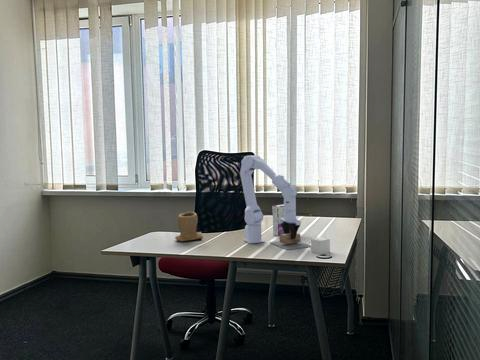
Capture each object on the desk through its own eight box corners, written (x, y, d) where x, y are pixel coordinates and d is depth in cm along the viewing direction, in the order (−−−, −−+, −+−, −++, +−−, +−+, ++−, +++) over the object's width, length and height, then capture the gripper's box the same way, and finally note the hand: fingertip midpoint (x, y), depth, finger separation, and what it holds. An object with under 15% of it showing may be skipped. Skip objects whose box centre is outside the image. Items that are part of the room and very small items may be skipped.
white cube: (311, 251, 208) (310, 238, 208) (320, 249, 212) (319, 237, 211) (321, 254, 203) (320, 240, 203) (330, 251, 207) (329, 238, 206)
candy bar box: (287, 232, 256) (287, 203, 255) (293, 233, 252) (293, 204, 251) (272, 235, 249) (271, 205, 248) (278, 236, 245) (277, 206, 244)
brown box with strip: (294, 240, 227) (294, 232, 227) (300, 242, 223) (300, 233, 223) (279, 242, 222) (279, 233, 222) (285, 244, 218) (285, 235, 218)
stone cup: (181, 244, 232) (180, 214, 231) (173, 240, 242) (172, 212, 241) (208, 240, 239) (207, 212, 238) (199, 236, 249) (198, 209, 248)
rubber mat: (269, 243, 228) (269, 242, 228) (293, 240, 234) (293, 239, 234) (286, 250, 212) (286, 249, 212) (312, 247, 217) (312, 245, 217)
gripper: (274, 209, 226) (275, 236, 227) (292, 212, 213) (292, 241, 214) (286, 208, 230) (286, 234, 230) (304, 211, 217) (304, 239, 218)
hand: (290, 237), depth 223 cm, fingers closed on brown box with strip, 4 cm apart
